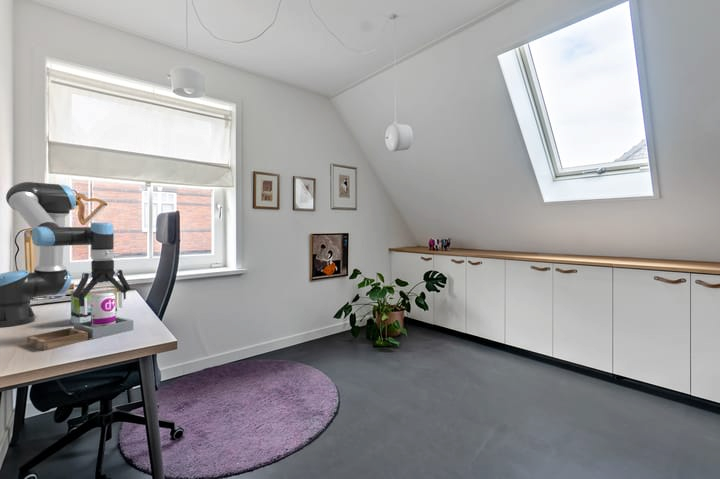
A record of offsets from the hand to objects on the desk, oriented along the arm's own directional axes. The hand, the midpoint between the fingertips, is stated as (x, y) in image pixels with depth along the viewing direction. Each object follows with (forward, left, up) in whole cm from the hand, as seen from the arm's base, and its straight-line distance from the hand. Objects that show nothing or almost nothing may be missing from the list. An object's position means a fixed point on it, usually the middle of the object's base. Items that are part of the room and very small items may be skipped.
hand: (103, 310), depth 145 cm
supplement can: (0, 0, -8) cm, 8 cm away
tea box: (-24, +7, -9) cm, 27 cm away
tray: (0, 0, -9) cm, 9 cm away
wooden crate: (0, -16, -9) cm, 18 cm away
